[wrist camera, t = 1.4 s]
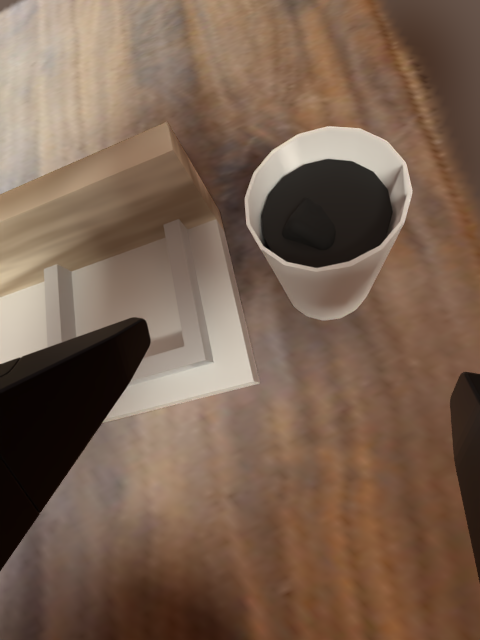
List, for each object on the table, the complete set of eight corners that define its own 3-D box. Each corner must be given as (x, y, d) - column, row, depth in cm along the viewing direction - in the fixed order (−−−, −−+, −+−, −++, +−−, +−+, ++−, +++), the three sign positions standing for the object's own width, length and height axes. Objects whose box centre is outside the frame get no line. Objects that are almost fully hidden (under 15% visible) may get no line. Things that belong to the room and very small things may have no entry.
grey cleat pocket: (260, 383, 22) (248, 379, 19) (0, 449, 27) (-47, 455, 23) (224, 232, 26) (209, 207, 23) (0, 311, 30) (-41, 300, 27)
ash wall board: (224, 232, 26) (172, 149, 17) (0, 311, 30) (-130, 276, 22) (219, 211, 26) (167, 121, 18) (-1, 291, 31) (-126, 249, 22)
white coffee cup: (349, 344, 21) (364, 298, 12) (261, 301, 24) (216, 236, 14) (395, 256, 22) (443, 148, 13) (305, 223, 24) (289, 111, 15)
